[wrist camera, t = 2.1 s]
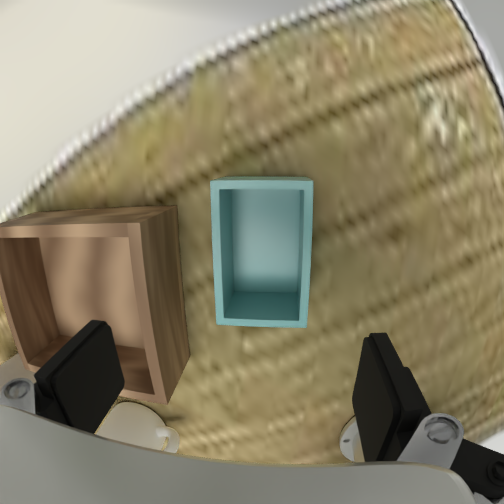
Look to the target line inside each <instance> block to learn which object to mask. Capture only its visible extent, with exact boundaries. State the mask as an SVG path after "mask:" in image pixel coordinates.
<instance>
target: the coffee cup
mask: <svg viewBox="0 0 504 504" xmlns="http://www.w3.org/2000/svg"><path fill="white" fill-rule="evenodd" d="M34 374H35V372H32V371H29V370H26V369H25V368H24V365H23V363H22V360H21V358H20V355H19V353H17V354H16V355H14V356H13V357H11V358H10V359H9V360H7V361H6V362H4V363H3V364H1V365H0V393H1V389H2V388H3V386H4V385H5V384H6V383H7V382H9V381H11V380H13V379H16V378H27V379H29V380H31V381H32V382H33V384H34V383H35V382H36V380H35V377H34Z"/></svg>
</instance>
